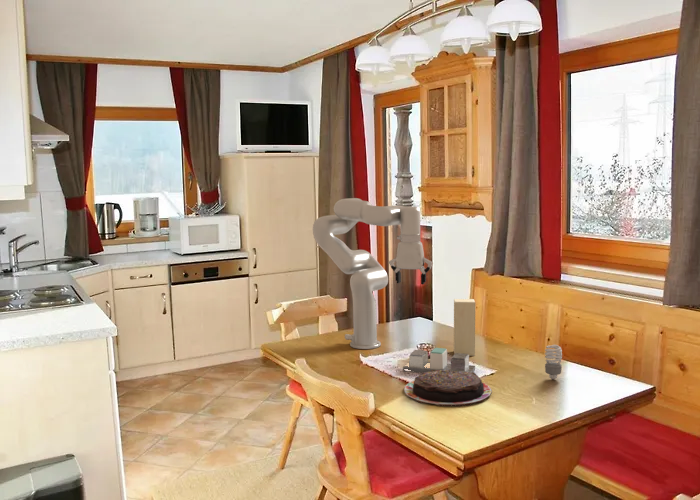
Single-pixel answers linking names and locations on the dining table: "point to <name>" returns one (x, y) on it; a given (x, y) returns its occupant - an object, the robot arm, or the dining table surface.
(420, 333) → the dining table surface
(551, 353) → the light bulb
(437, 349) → the block
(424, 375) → the chocolate cake
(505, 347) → the dining table surface
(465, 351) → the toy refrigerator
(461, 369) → the rail
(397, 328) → the dining table surface
